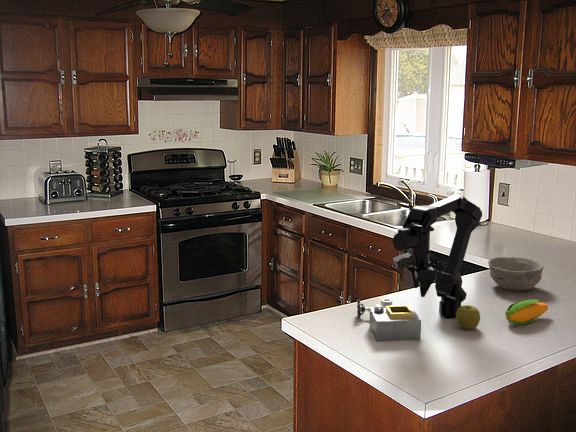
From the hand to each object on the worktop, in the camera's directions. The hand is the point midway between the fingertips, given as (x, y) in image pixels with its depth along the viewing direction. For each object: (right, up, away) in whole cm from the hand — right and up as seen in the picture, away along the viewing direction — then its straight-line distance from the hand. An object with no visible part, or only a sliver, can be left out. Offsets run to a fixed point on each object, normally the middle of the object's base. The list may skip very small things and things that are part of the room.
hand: (419, 292), depth 204 cm
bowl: (+46, -4, +42) cm, 63 cm away
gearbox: (-9, -13, -3) cm, 16 cm away
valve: (-13, -11, +11) cm, 20 cm away
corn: (+38, -11, +7) cm, 40 cm away
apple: (+16, -12, +1) cm, 20 cm away
